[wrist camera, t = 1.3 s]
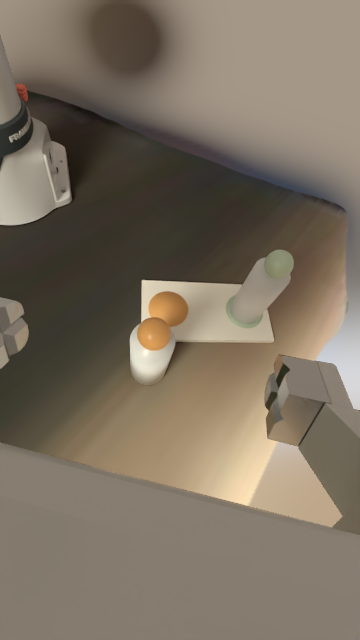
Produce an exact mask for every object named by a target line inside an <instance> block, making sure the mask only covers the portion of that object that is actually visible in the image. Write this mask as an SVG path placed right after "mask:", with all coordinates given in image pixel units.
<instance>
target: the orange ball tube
mask: <svg viewBox="0 0 360 640" xmlns="http://www.w3.org/2000/svg"><path fill="white" fill-rule="evenodd" d="M174 347H175V336H174V333H173V331H172V330H171V329H170V327H169V325H168V324H167V323H166V322H165V321H164V320H163V319H161V318H157V317H151V318H148V319H145V320H144V321H143V322H142V323H140V324H139V325H137V326H136V327H135V328H134V330H133V331H132V334H131V337H130V371H131V375H132V377H133V379H134V380H135V381H136V382H137V383H139V384H141V385H144V386H152V385H155V384H157V383H159V382H160V381H161V380H162V378H163V377H164V375H165V372H166V369H167V367H168V364H169V361H170V358H171V356H172V353H173V350H174Z"/></svg>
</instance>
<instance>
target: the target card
mask: <svg viewBox="0 0 360 640" xmlns="http://www.w3.org/2000/svg"><path fill="white" fill-rule="evenodd" d="M241 286H242V285H241V284H218V283H196V282H173V281H151V280H142V309H141V323H142V322H143V321H144V320H145V319H148V318H151V317H157V318H161V319H163V320H164V321H165V322H166V323H167V324H168V325H169V327H170V329H171V330H172V331H173V333H174V336H175V342H249V343H272V342H273V341H274V337H273V332H272V328H271V323H270V318H269V314H268V309H266V310H265V311H264V313H263V314H262V315H261V316H260V317H259V318H258V319H257V321H256V322H254V323H252V324H242V323H240V322H238V321H236V320H235V319H234V318H233V317H232V315H231V313H230V304H231V302H232V301H233V299H234V298H235V296H236V294H237V293H238V291H239V289H240V288H241Z"/></svg>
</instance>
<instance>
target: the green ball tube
mask: <svg viewBox="0 0 360 640" xmlns="http://www.w3.org/2000/svg"><path fill="white" fill-rule="evenodd" d="M293 267H294V259H293V257H292V255H291V254H290V253H289V252H287V251H285V250H275V251H272V252H271V253H270V254H268V256H267V257H266V258H261V259H259V260H258V261H257V262H256V264H255V265H254V267H253V268H252V270H251V272H250V273H249V275H248V277H247V278H246V280H245V281H244V283H243V285H242V286H241V288H240V289H239V291H238V293H237V294H236V296H235V298H234V299H233V301H232V302H231V304H230V313H231V315H232V317H233V318H234V319H235V320H236V321H238V322H240V323H242V324H252V323H254V322H256V321H257V319H258V318H259V317H260V316H261V315H262V314H263V313H264V311H265V310H266V309H267V308H268V307H269V306H270V305H271V303H272V302H273V301H274V300H275V299H276V298H277V297H278V295H279V294H280V293H281V292H282V291H283V290H284V289H285V287H286V286H287V285H288V284H289V282H290V280H291V275H290V272H291V271H292V269H293Z"/></svg>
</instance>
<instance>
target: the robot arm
mask: <svg viewBox="0 0 360 640" xmlns="http://www.w3.org/2000/svg"><path fill="white" fill-rule="evenodd" d="M27 100H28V96H27V90H26V87H25V86H24V84H15V82H14V79H13V75H12V72H11V69H10V65H9V62H8V59H7V56H6V52H5V49H4V46H3V42H2V39H1V36H0V225H20V224H25V223H29V222H33V221H35V220H38V219H40V218H42V217H44V216H45V215H47V214H48V213H49V212H51V211H52V210H53V209H55V208H57V207H60V206H63V205H66V204H68V203H70V202H71V200H72V196H71V187H70V179H69V170H68V162H67V154H66V150H65V147H64V146H62V145H61V144H59V143H56V142H54V141H51V139H50V135H49V132H48V129H47V127H46V125H45V124H44V123H42V122H41V121H39V120H37V119H35V118H33V117H31V116H30V113H29V110H28V108H27V107H26V105H25V103H24V101H25V102H27ZM23 315H24V310H23V307H22V304H20V303H19V302H17V301H14V300H9V299H5V298H0V369H1V368H2V367H3V366H4V365H5V364H6V363H7V362H8V361H9V355H11V354H14V353H16V352H19V351H20V350H21V349H22V348H23V347H24V346H25V343H26V341H27V339H28V332H29V331H28V326H27V324H26V323H25V322H24V320H23V319H22V316H23ZM274 370H275V372H274V373H273V374H271V375H269V378H268V381H267V384H266V389H265V407H266V408H267V409H268V410H269V412H268V415H267V417H266V425H267V437H268V439H271V440H275V441H279V442H283V443H287V444H290V445H294V446H298V447H299V450H300V451H301V453H302V454H303V456H304V458H305V459H306V460H307V462H308V464H309V465H310V467H311V468H312V470H313V471H314V473H315V474H316V476H317V477H318V479H319V480H320V482H321V484H322V485H323V487H324V488H325V490H326V491H327V493H328V494H329V496H330V497H331V499H332V500H333V502H334V503H335V505H336V506H337V508H338V509H339V511H340V513H341V514H342V515H343V517H342V518H341V519H340V520H339V521H338V522H337V523H336V524H335V525H334V526H333V527H332V528H331V527H327V526H324V525H320V524H315V523H312V522H308V521H304V520H300V519H296V518H292V517H289V516H285V515H281V514H277V513H273V512H269V511H265V510H261V509H257V508H253V507H250V506H246V505H242V504H238V503H234V502H230V501H226V500H222V499H218V498H214V497H211V496H207V495H203V494H199V493H195V492H191V491H187V490H183V489H179V488H175V487H172V486H168V485H164V484H160V483H156V482H152V481H148V480H144V479H140V478H136V477H132V476H129V475H125V474H121V473H117V472H113V471H109V470H105V469H101V468H97V467H93V466H90V465H86V464H82V463H78V462H74V461H70V460H66V459H62V458H58V457H54V456H50V455H47V454H43V453H39V452H35V451H31V450H27V449H23V448H19V447H15V446H11V445H7V444H4V443H0V640H360V410H356V409H353V407H352V404H351V402H350V399H349V397H348V394H347V392H346V390H345V387H344V385H343V382H342V380H341V377H340V375H339V372H338V370H337V367H336V366H335V365H334V364H331V363H325V362H320V361H311V360H306V359H301V358H296V357H291V356H285V355H280V354H279V355H278V357H277V358H276V361H275V363H274Z"/></svg>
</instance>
